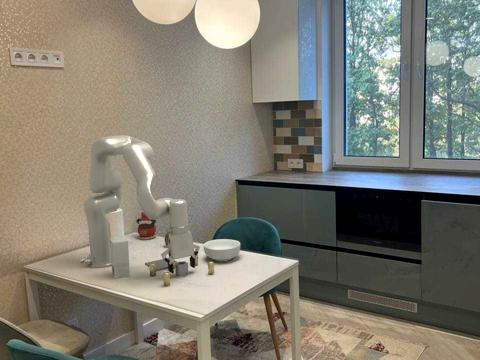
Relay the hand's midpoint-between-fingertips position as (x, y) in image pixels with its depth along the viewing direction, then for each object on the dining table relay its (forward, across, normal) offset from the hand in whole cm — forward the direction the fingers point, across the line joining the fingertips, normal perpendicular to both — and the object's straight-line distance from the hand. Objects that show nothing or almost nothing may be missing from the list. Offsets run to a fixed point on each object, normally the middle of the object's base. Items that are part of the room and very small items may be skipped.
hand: (182, 269), depth 194 cm
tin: (+2, +18, +42) cm, 46 cm away
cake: (+2, +11, +64) cm, 65 cm away
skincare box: (+2, -20, +17) cm, 27 cm away
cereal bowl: (+2, +24, +7) cm, 25 cm away
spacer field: (+2, 0, +1) cm, 3 cm away
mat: (+2, -1, +17) cm, 17 cm away
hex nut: (+2, 0, 0) cm, 2 cm away
